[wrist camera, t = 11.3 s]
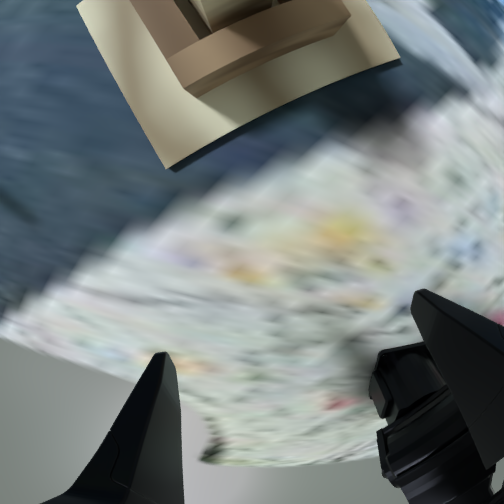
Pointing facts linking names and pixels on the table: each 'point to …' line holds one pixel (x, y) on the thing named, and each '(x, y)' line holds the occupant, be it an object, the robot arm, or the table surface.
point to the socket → (227, 62)
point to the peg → (227, 11)
